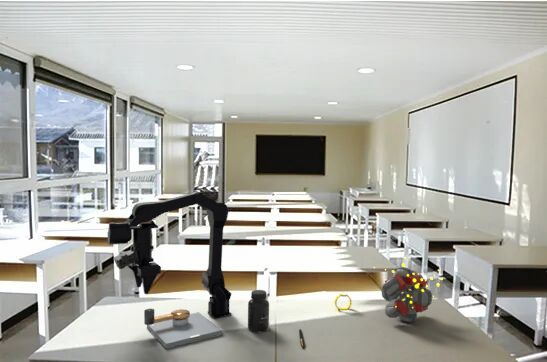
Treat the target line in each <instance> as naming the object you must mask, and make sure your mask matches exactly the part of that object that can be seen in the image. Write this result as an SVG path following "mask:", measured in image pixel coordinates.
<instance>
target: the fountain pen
mask: <svg viewBox="0 0 547 362" xmlns="http://www.w3.org/2000/svg"><path fill="white" fill-rule="evenodd" d="M298 335H299V343H300V345H301V346H300V347H301V348H302V349H303V350H304V349H305V347H306V346H305V345H306V344H305V340H304V334H303V331H302V329H301V328H299V330H298Z"/></svg>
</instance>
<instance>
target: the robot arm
mask: <svg viewBox="0 0 547 362" xmlns="http://www.w3.org/2000/svg"><path fill="white" fill-rule="evenodd" d="M194 205H198V206H199V207H201V208H202V209H204V210H206V215H207V220H208V225H209V228H210V229H209V243H208V244H209V245H208V246H209V248H208V249H209V251H208V267H207V269H206V271H202V273H201V274H202V279H201V282H200V283H201V284H202V285H203V288H204V290H205V291H207V292H208V294H209V301H208V302H207V303H208V306H207V307H208V308H207V309H208V310H207V314H208V315H210V316H211V317H212V318H214V319H219V318H223V317H227V316H232V315H233V314H232V312H230V300H231V297H232V292H231V291H230V290H228V289H227V288H226V284H225V277H224V273H223V270H222V265H223V264H222V263H223V262H222V259H223V240H224V239H223V237H224V227H225V226H226V223H227V221H228V216H229V206H228V205H227V204H226V203H224V202H220V201H217V200H213V199H212V198H210V197H208V196H206V195H205V194H204V193H203V192H201V191H200V192H199V191H193V192H191V193H187V194H183V195H179V196H175V197H172V198H168V199H164V200H160V201H146V202H145V201H144V202H138V203H135V204H134V206H133V207H132V209H131V214H130V215H129V217H128V218H127V219H126V220H125V222H108V228H107V229H108V230H107V231H108V232H107V244H108V246H111V245H112V246H113V245H114V246H115V245H124V244H125V245H126V244H128V243H129V242H131V241H132V244H131V245H130V246H129V247H130V249H129V250H127V251H124V252H123V253H120V254H118V255H116V256H114V257H113V260H114V262H115V266H116V268H118V269H119V270H122V269H125V268H126V267H128V269H130V270H131V272H132V273H133V277H134V281H135V284H136V287H137V288H141V287H142V288H143V293H144V295H147V294H149V293H150V290H151V289H152V286H153V284H154V282H155V280H156V278H157V276H158V275H159V274H161V273H162V267H161V266H160V265H159V264H158V263H157V262H154V259H155V258H153V257H152V254H153V253H152V252H153V251H152V250H154V247H155V246H154V245H152V244H153V242H152V240H153V238H152V237H153V236H152V233H153V231H152V230H153V229H157V228H159V225H157V224H156V223H155V222H154V220H155V219H157V218H158V217H160V216H161V215H163V214H165V213H169V212H173V211H177V210H180V209H184V208H187V207H191V206H194ZM210 295H211V296H210Z"/></svg>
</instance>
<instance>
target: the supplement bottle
mask: <svg viewBox="0 0 547 362" xmlns="http://www.w3.org/2000/svg"><path fill="white" fill-rule="evenodd" d="M250 293H251V294H250V298H251V299H249V301H248V302H247V329H248V330H249V331H251V332H253V333H263V332H266V331H268V330H269V328H270V327H269V326H270V302H269V300H268V299H267V291H266V290H263V289H255V290H252V291H251V292H250Z"/></svg>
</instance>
